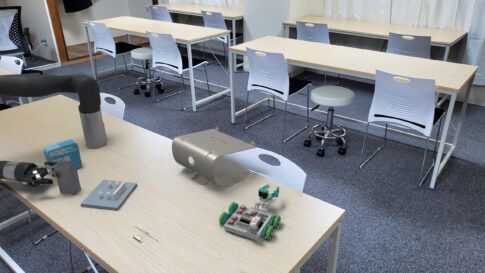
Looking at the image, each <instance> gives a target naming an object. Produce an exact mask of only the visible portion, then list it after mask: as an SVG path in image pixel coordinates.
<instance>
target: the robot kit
mask: <svg viewBox="0 0 485 273" xmlns="http://www.w3.org/2000/svg"><path fill="white" fill-rule="evenodd" d="M269 188H270V184H266V185H264V186H262V187H259V189H258V190H257V192H258V194H257V195H258V199H259V201H258V202H255V203H254V206H250V207H247V206H246V205H244V204H240V205H239V204H238V203H237V202H235V201H232V202H231V203H230V204H229V205H228V211H227V212H226V211H223V212H221V214H220V216H219V219H218V221H219V225H221V226H222V225H223V230H225V231H229V232H232V233H235V234H238V235H240V236H244V237H247V238H250V239H253V240H255V241H258V240H259V239H260V238H261V236H262V238H263V239H265V237H266V239H265V240H267V241H270V240H271V239H272V238H271V237H273V235H274V229H278V228H279V227H280V224H281V221H282V220H281V218H282V217H281V215H279V214H278V215H277V214H274V213H272V212H271V211H268V210H267V208H268V207H267V206H268V203H269V202H270V201H272V200H273V198H279V194H280V186H276V189H275V190H273V192H272V193H270V192H269ZM259 207H261V208H259ZM261 218H262V219H265V221H263V220H261ZM273 225H274V226H273ZM278 226H279V227H278Z"/></svg>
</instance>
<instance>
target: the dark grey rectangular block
mask: <svg viewBox="0 0 485 273" xmlns="http://www.w3.org/2000/svg"><path fill="white" fill-rule="evenodd" d="M54 170H55V174H56V176H55V177H56V181H57V186H58V188H59V193H60V194H61V195H67V196H68V195H69V196H76V195H77V194H78V193H79V192H80V191H82V187H81V182H80V177H79V174H78V169H77V168H76V164H75V162H71V161H61V160H60V161H59V162H58V163H56V164H55V165H54Z"/></svg>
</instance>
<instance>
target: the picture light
mask: <svg viewBox="0 0 485 273" xmlns="http://www.w3.org/2000/svg"><path fill="white" fill-rule="evenodd" d="M133 226H134V227H135V228H136V229H138V230H140V231H141V234H139V235H138V236H137V235H133V236H132V238H135V239H137V241H139V242H140V243H143V242H144V241H143V239H142V236H143V235H144V234H146V235H147V236H148V237H150V238H151V239H153V240H155V241H156V242H157V243H159V242H160V243H159V244H162V241H161V240H160V239H158V238H156V237H155V236H153V235H152V234H150V233H149V232H148V231H146V230H144V228H141V227H140V226H139V225H137V224H133Z"/></svg>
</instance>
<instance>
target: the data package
mask: <svg viewBox="0 0 485 273" xmlns="http://www.w3.org/2000/svg"><path fill="white" fill-rule="evenodd" d="M43 154H44V157H45V160H46V161H45V162H59V161H60V160H61V161H71V162H75V164H76V168H77V170H78V169H81V167H82V166H83V163H82V157H81V153H80V148H79V144H78V143H77V142H76V141H75V140H74V139H66V140H63V141H60V142H57V143H53V144H49V145H47V146H45V147H44V148H43ZM52 170H54V169H52ZM51 175H52V176H53V177H56V174H55V172H53V173H52V174H51Z"/></svg>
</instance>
